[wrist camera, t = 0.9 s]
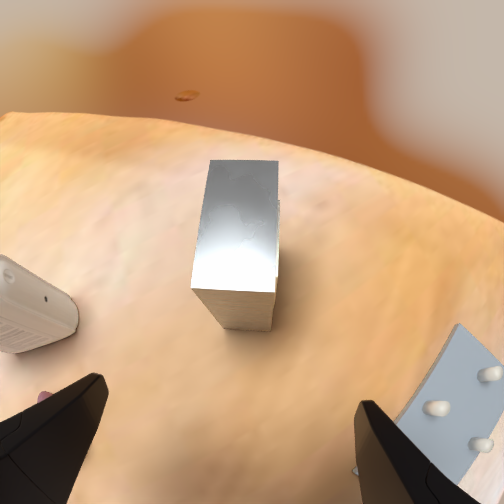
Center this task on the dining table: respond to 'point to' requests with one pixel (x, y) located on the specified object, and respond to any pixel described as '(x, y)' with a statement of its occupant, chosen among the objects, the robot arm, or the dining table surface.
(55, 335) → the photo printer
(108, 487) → the dining table surface
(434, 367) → the grey peg board
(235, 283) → the block
